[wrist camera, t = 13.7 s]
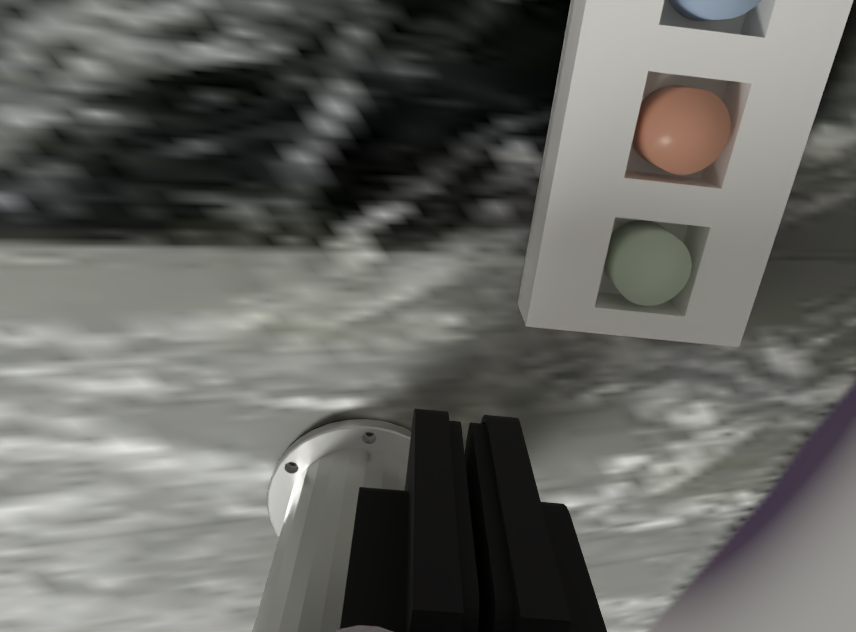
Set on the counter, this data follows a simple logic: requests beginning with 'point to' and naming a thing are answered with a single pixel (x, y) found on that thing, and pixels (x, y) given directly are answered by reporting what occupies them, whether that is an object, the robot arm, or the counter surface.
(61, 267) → the counter surface
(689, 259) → the button sage
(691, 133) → the button terracotta
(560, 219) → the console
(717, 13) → the button slate
